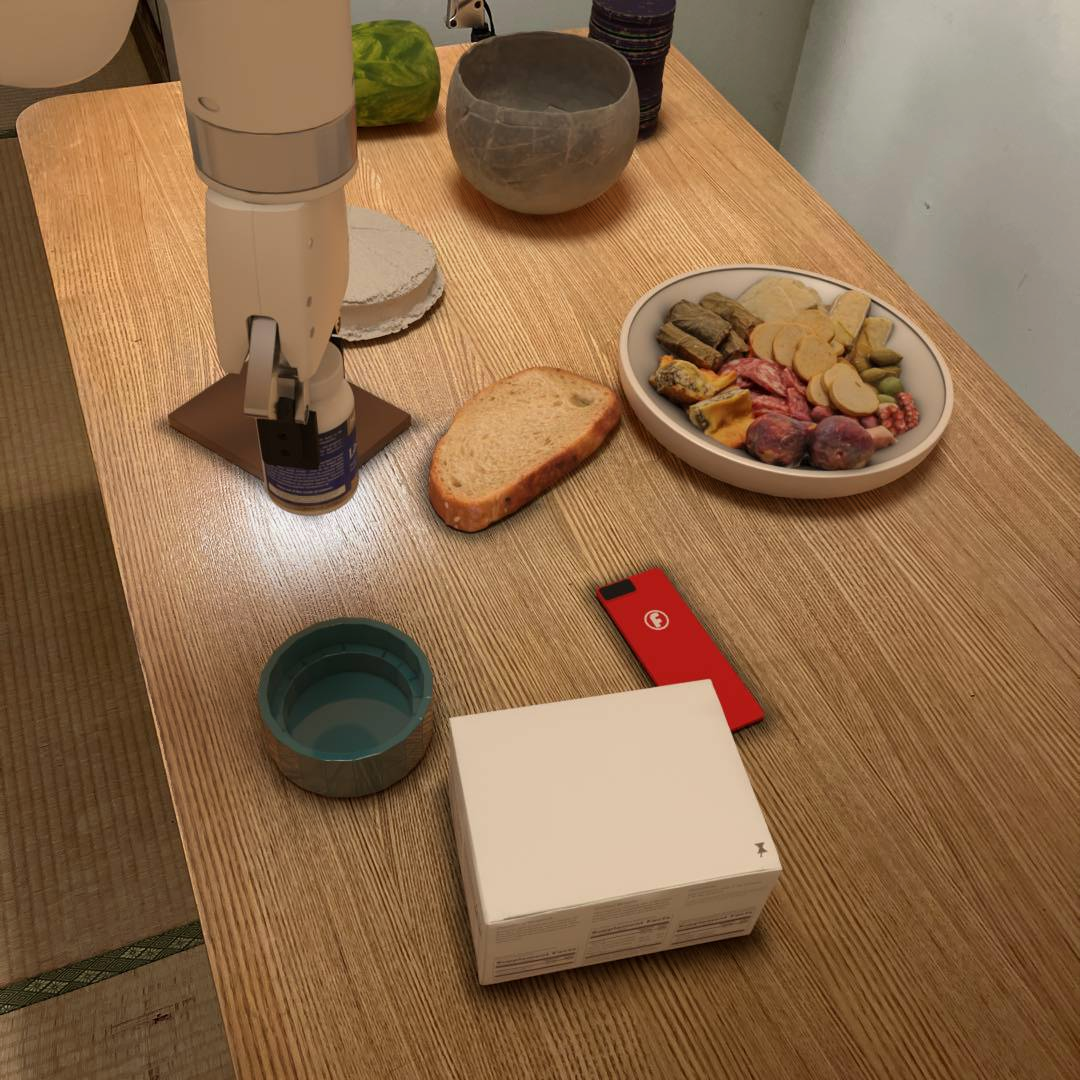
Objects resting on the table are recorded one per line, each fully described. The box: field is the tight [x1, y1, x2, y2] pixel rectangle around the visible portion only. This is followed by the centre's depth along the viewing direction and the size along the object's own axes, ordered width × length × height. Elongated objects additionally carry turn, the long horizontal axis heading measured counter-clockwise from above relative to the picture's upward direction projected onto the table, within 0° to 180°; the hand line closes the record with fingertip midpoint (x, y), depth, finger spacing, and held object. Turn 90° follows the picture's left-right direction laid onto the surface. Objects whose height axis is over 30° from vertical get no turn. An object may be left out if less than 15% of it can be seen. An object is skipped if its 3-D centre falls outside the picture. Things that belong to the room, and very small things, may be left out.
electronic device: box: [595, 567, 765, 733], centre depth 79 cm, size 6×1×15 cm
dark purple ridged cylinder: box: [587, 0, 677, 143], centre depth 127 cm, size 10×10×18 cm
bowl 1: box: [445, 30, 640, 216], centre depth 116 cm, size 20×20×15 cm
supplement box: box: [448, 679, 783, 986], centre depth 65 cm, size 17×13×9 cm
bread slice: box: [427, 365, 623, 533], centre depth 92 cm, size 18×18×4 cm
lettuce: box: [351, 19, 442, 128], centre depth 125 cm, size 12×21×11 cm, turn 111°
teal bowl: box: [256, 616, 434, 798], centre depth 72 cm, size 11×11×5 cm
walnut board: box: [167, 360, 412, 482], centre depth 93 cm, size 16×13×1 cm
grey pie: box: [332, 204, 446, 342], centre depth 105 cm, size 20×20×7 cm
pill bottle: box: [255, 341, 360, 517], centre depth 63 cm, size 6×6×10 cm
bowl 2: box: [617, 263, 955, 500], centre depth 97 cm, size 30×30×8 cm
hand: (305, 423), depth 63 cm, fingers closed on pill bottle, 5 cm apart
